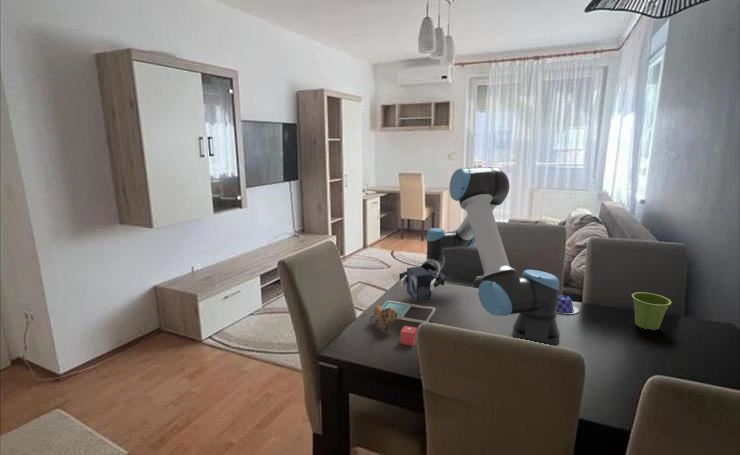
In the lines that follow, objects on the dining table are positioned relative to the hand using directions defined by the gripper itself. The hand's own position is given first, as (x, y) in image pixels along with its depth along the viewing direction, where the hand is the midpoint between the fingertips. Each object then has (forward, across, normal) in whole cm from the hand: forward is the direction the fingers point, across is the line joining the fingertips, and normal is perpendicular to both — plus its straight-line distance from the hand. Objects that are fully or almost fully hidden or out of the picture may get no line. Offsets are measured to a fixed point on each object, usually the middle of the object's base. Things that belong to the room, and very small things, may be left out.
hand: (416, 285), depth 154 cm
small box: (-4, 0, -6) cm, 7 cm away
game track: (-4, +5, -13) cm, 15 cm away
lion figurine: (+11, +9, -14) cm, 20 cm away
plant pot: (-24, -81, -14) cm, 85 cm away
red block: (+19, -3, -13) cm, 23 cm away
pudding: (-31, -53, -14) cm, 63 cm away
